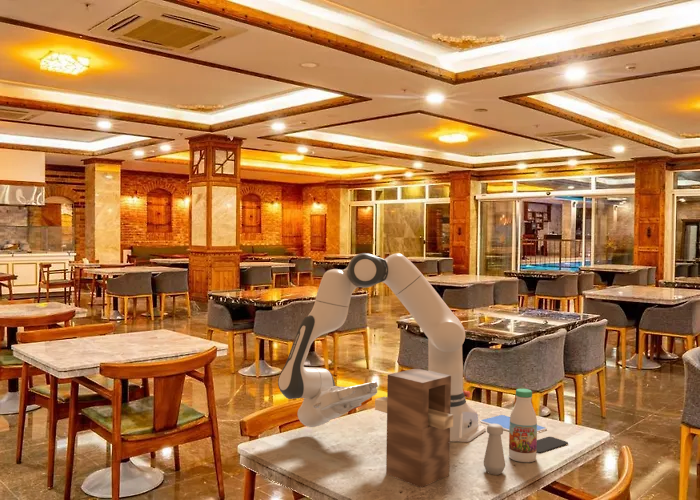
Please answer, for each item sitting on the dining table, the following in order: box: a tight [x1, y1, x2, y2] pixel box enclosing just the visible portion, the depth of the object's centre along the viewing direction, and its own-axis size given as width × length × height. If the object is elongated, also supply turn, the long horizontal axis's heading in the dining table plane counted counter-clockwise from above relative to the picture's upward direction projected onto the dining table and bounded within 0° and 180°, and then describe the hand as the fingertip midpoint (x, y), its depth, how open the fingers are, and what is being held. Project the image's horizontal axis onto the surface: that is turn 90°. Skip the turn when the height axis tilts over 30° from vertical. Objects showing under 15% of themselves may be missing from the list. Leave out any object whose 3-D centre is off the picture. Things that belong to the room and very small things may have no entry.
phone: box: [536, 436, 569, 454], centre depth 191 cm, size 7×1×15 cm
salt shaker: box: [483, 424, 506, 476], centre depth 169 cm, size 6×6×13 cm
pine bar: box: [374, 396, 453, 430], centre depth 167 cm, size 4×24×3 cm, turn 45°
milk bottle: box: [508, 388, 538, 463], centre depth 179 cm, size 8×8×20 cm
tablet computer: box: [479, 414, 548, 433], centre depth 210 cm, size 19×13×1 cm, turn 37°
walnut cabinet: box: [385, 367, 451, 488], centre depth 166 cm, size 12×12×27 cm
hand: (364, 386), depth 180 cm, fingers open, 8 cm apart
